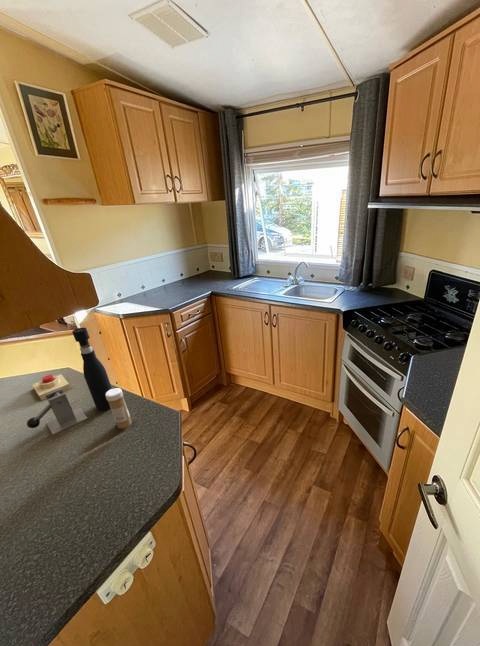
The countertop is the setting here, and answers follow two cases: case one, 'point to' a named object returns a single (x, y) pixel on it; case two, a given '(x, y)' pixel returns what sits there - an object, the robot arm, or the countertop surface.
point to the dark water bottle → (93, 371)
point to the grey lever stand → (63, 412)
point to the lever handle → (36, 421)
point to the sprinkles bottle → (118, 407)
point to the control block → (51, 386)
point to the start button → (48, 379)
